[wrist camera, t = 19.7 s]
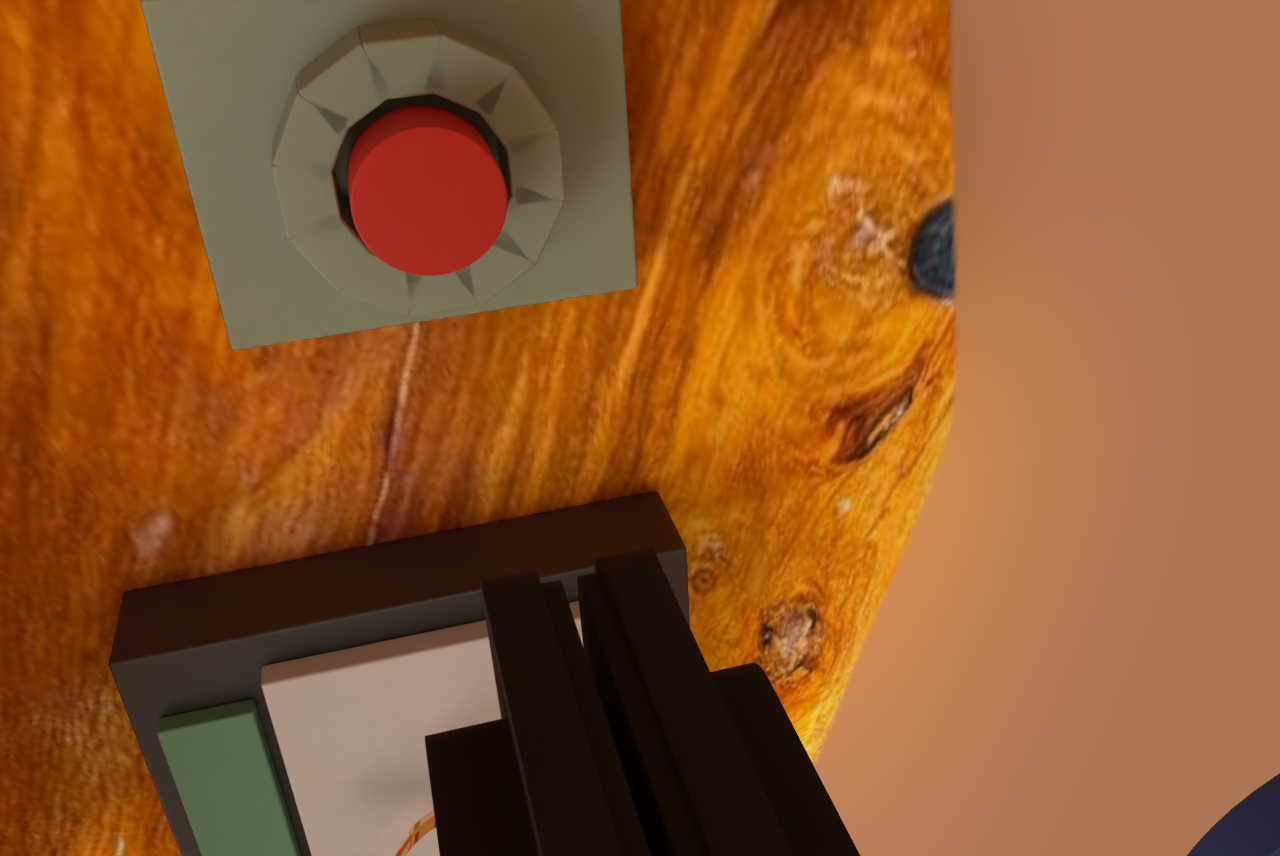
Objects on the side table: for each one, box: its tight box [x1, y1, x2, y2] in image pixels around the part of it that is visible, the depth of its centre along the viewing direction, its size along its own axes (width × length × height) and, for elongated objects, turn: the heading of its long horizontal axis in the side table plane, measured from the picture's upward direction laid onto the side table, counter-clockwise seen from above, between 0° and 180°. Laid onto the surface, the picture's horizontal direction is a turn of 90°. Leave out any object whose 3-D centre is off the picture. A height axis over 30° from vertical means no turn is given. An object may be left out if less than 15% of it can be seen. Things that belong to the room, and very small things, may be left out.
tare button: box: [347, 105, 507, 276], centre depth 24 cm, size 3×3×2 cm
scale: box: [109, 492, 690, 856], centre depth 34 cm, size 15×12×4 cm
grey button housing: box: [141, 0, 638, 350], centre depth 26 cm, size 10×8×3 cm
